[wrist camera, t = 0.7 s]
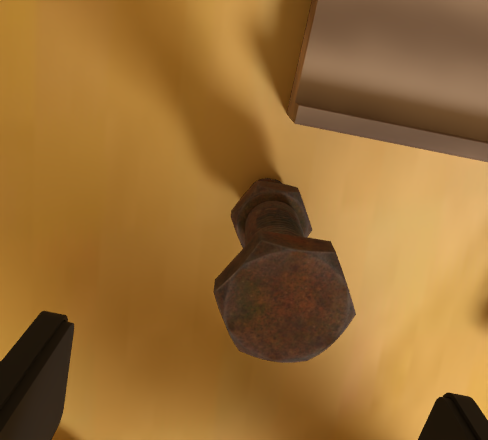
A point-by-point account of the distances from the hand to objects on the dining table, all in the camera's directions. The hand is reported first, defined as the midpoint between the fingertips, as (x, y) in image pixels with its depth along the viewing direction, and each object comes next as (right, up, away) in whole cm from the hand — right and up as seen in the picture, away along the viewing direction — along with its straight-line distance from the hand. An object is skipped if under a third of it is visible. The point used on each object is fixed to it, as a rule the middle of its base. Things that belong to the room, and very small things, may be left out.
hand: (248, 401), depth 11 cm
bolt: (+1, +6, +21) cm, 22 cm away
